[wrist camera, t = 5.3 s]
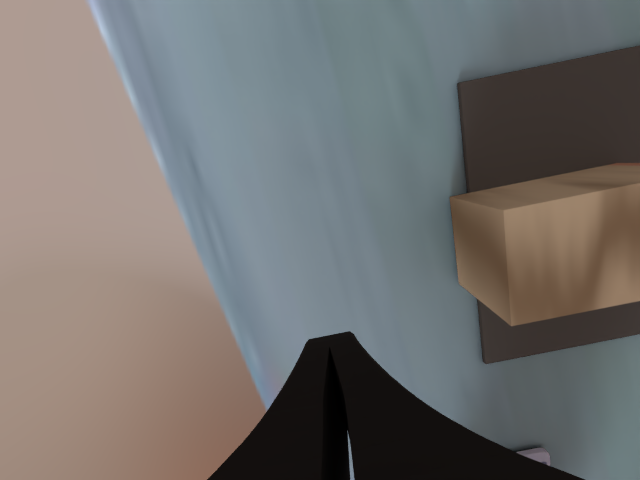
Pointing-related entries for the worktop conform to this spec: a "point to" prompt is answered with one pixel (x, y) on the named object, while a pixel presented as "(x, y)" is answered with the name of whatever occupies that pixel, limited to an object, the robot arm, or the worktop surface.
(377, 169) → the worktop surface
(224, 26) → the worktop surface
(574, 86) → the rubber mat
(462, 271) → the maple block
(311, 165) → the worktop surface
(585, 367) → the worktop surface
